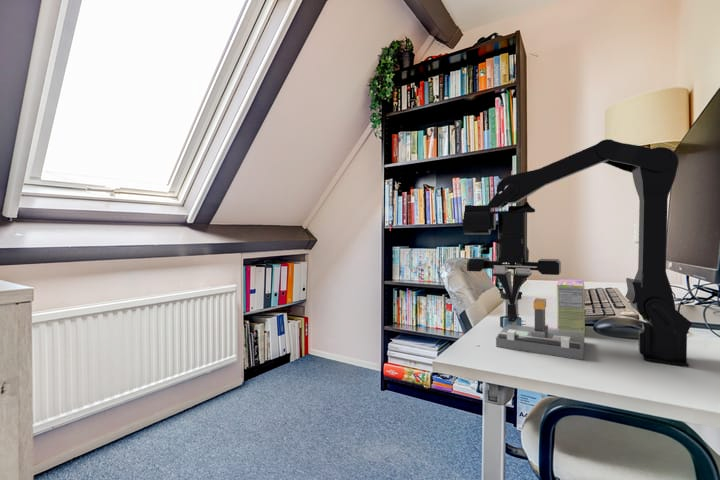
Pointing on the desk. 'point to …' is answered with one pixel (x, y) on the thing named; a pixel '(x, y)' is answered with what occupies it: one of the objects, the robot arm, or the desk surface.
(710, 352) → the desk surface
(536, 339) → the breaker panel
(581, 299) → the box
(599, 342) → the desk surface
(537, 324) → the lever
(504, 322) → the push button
